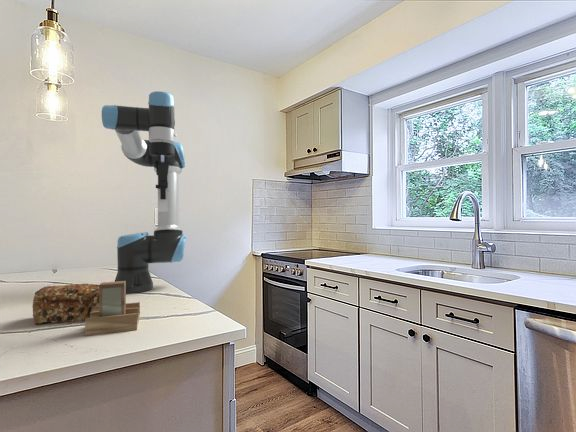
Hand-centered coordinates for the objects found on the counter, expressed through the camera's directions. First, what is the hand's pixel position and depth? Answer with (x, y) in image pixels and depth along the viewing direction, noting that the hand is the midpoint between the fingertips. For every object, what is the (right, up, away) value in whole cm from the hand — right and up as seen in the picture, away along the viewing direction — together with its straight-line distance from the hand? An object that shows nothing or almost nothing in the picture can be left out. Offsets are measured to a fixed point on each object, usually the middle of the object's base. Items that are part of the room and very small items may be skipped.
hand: (162, 211), depth 107 cm
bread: (-25, -32, -4) cm, 41 cm away
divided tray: (-9, -32, -12) cm, 35 cm away
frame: (-8, -31, -15) cm, 35 cm away
